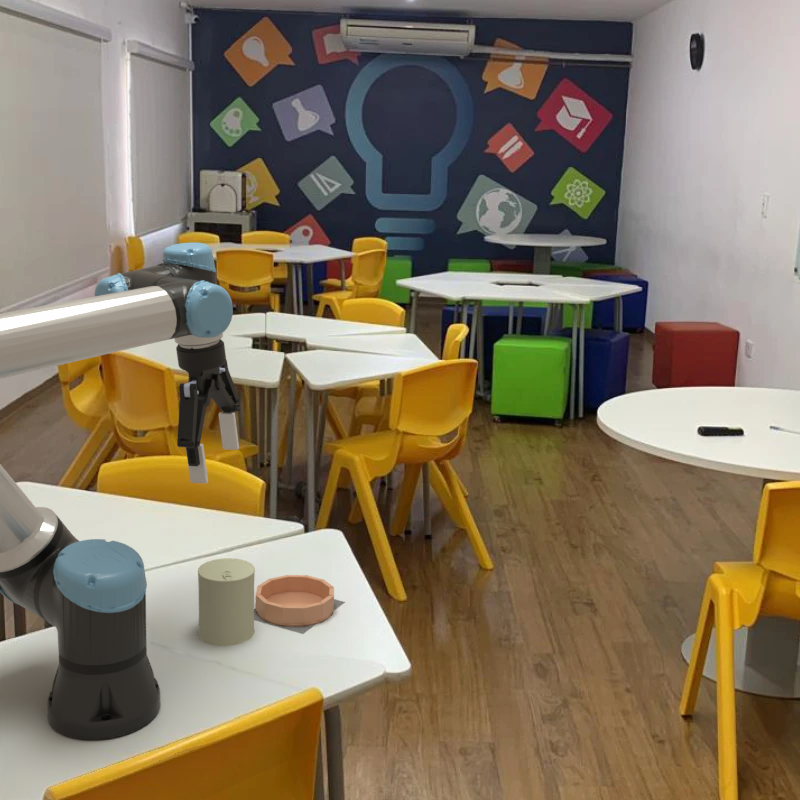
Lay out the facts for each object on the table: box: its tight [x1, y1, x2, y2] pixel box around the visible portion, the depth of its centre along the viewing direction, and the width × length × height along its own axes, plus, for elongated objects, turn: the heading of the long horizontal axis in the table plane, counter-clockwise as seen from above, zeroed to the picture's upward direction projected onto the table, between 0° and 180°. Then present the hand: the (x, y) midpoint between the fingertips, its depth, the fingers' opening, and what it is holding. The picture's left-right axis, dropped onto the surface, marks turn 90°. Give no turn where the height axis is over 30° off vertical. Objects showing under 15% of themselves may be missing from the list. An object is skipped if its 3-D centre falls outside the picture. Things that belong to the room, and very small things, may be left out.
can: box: [197, 557, 256, 647], centre depth 159 cm, size 9×9×12 cm
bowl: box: [255, 574, 335, 627], centre depth 169 cm, size 13×13×3 cm
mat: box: [254, 598, 346, 635], centre depth 169 cm, size 14×12×1 cm
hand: (215, 464), depth 162 cm, fingers open, 13 cm apart
